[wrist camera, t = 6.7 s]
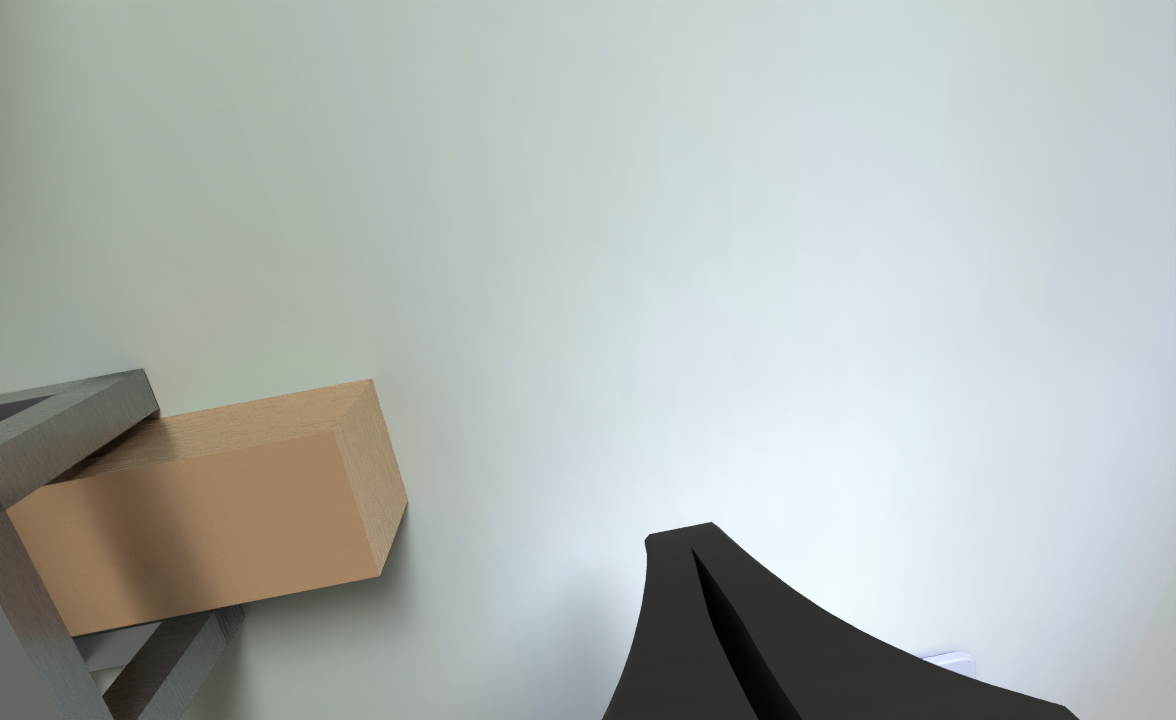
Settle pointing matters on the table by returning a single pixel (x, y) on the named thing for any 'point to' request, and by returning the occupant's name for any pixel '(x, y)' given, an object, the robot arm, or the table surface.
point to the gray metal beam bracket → (24, 607)
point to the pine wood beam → (218, 509)
